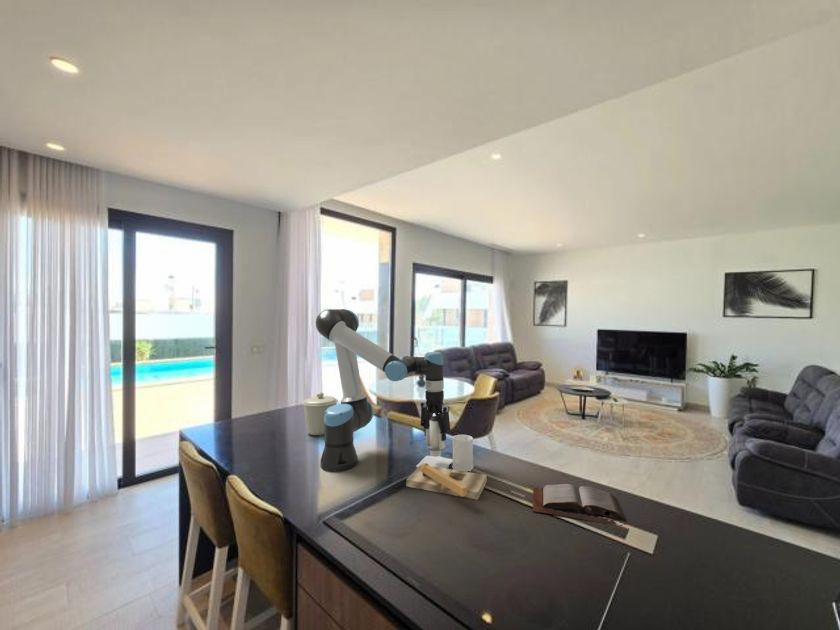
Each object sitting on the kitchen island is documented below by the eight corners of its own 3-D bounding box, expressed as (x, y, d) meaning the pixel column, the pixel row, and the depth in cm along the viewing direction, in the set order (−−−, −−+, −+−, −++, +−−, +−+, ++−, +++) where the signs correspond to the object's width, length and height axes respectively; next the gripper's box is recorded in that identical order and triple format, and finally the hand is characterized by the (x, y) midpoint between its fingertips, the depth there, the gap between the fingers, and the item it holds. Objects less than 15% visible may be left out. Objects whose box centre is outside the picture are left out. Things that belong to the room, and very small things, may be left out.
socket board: (406, 486, 132) (406, 475, 132) (421, 470, 145) (420, 461, 145) (477, 499, 122) (477, 488, 122) (486, 481, 135) (486, 471, 135)
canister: (333, 438, 184) (333, 396, 184) (297, 438, 184) (296, 396, 184) (341, 427, 202) (341, 388, 202) (308, 427, 202) (308, 388, 202)
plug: (425, 456, 150) (424, 418, 149) (430, 450, 156) (430, 414, 156) (440, 458, 147) (439, 419, 147) (445, 452, 153) (445, 415, 153)
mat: (416, 467, 148) (415, 466, 148) (426, 456, 159) (426, 455, 159) (444, 472, 144) (444, 470, 144) (453, 460, 155) (453, 459, 155)
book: (634, 531, 106) (634, 515, 106) (532, 513, 114) (532, 498, 114) (620, 501, 125) (620, 488, 125) (533, 488, 133) (533, 475, 133)
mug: (461, 477, 139) (460, 445, 139) (443, 471, 145) (442, 440, 145) (477, 467, 148) (477, 437, 148) (460, 461, 154) (459, 432, 154)
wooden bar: (419, 471, 136) (419, 464, 136) (425, 469, 137) (425, 462, 137) (461, 497, 116) (461, 488, 116) (467, 494, 118) (467, 486, 118)
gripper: (410, 388, 155) (411, 443, 155) (447, 394, 142) (448, 454, 142) (422, 385, 161) (423, 438, 161) (459, 391, 147) (460, 449, 147)
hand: (435, 446), depth 151 cm, fingers closed on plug, 6 cm apart
